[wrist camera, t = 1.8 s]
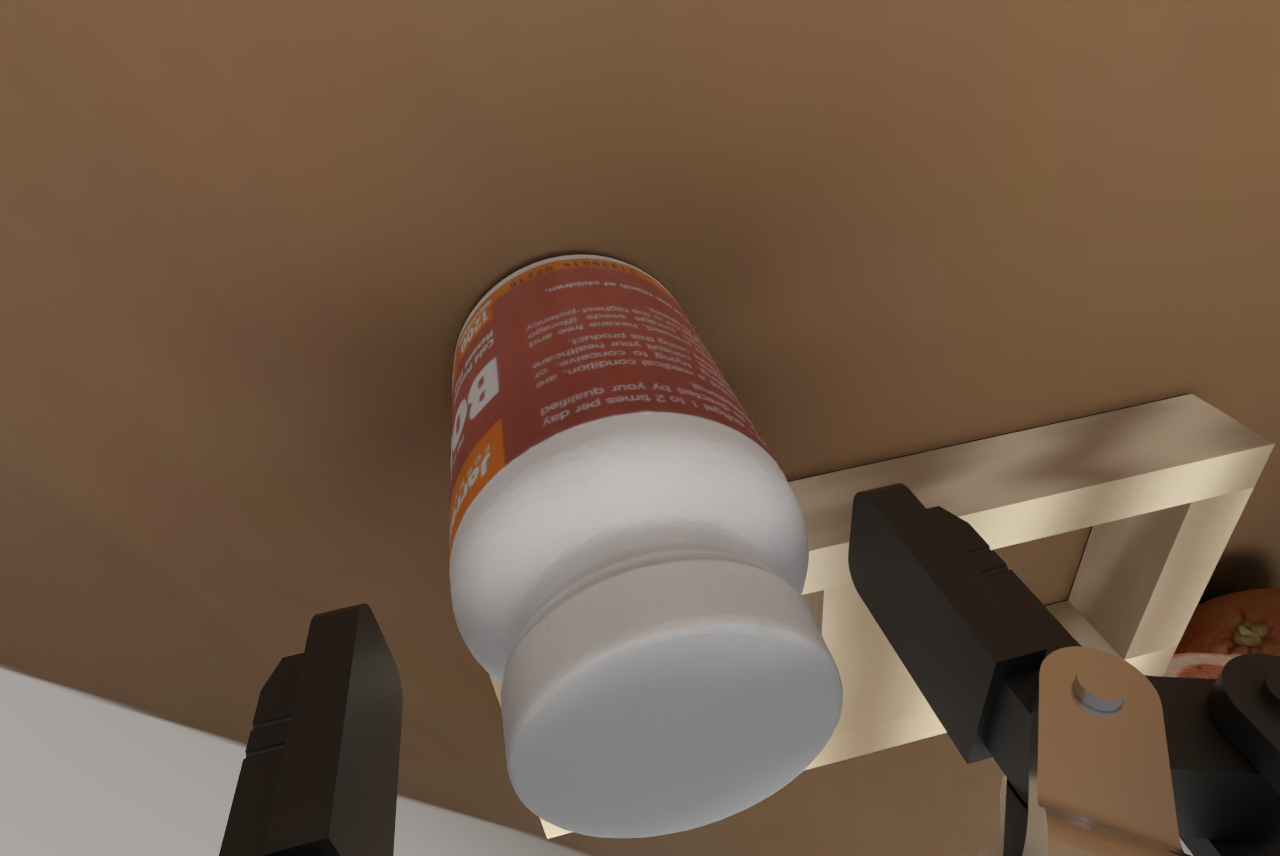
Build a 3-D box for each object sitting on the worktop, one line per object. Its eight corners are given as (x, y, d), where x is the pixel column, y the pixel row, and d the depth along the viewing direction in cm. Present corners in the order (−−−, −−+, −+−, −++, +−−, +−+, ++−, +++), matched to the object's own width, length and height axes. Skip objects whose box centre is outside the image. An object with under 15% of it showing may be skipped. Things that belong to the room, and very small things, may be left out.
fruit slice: (1110, 603, 30) (1213, 706, 26) (1265, 516, 29) (1398, 609, 25) (1142, 691, 35) (1234, 789, 30) (1277, 618, 33) (1390, 711, 29)
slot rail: (1191, 393, 24) (1275, 443, 22) (1106, 616, 30) (1163, 674, 28) (471, 551, 21) (473, 628, 19) (539, 760, 28) (547, 838, 25)
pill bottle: (433, 256, 17) (399, 622, 7) (694, 237, 18) (944, 538, 8) (470, 473, 20) (477, 908, 11) (686, 447, 21) (859, 823, 12)
